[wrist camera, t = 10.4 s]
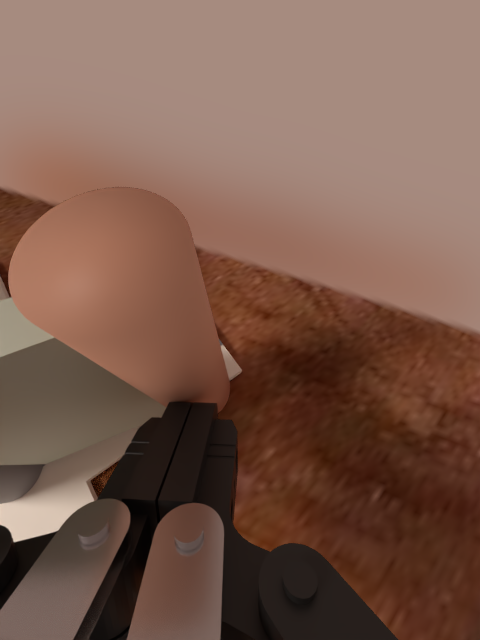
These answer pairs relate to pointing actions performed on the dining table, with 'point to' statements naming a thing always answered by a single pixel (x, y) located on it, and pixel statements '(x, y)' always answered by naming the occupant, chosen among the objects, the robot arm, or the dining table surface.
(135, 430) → the board
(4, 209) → the dining table surface
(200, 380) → the gate
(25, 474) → the fence fixed
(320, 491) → the dining table surface
